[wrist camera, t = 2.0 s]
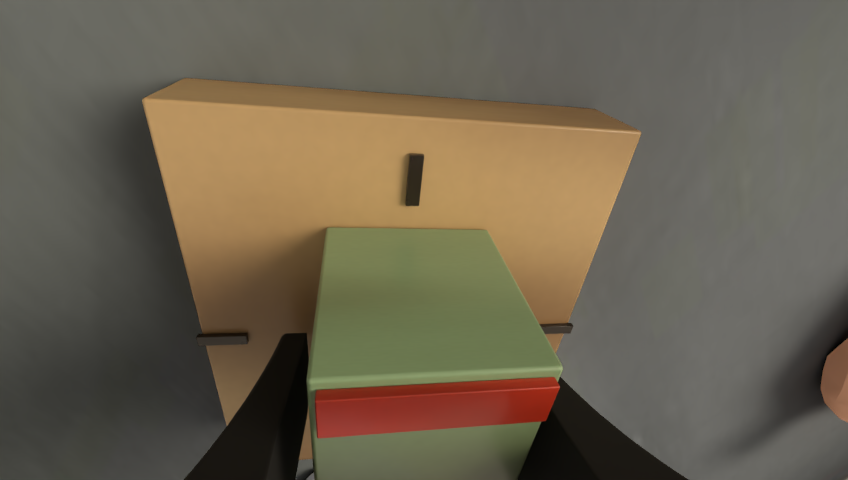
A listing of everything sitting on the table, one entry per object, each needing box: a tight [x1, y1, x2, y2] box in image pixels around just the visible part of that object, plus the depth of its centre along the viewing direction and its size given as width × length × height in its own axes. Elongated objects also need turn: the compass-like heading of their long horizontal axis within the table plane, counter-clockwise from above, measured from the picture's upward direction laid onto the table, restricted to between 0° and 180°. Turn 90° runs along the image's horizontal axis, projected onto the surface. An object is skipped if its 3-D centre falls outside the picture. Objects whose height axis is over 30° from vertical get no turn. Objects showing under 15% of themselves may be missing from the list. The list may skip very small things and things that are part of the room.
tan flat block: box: [142, 78, 641, 460], centre depth 14 cm, size 14×12×3 cm
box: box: [306, 227, 563, 480], centre depth 11 cm, size 8×4×5 cm, turn 174°
